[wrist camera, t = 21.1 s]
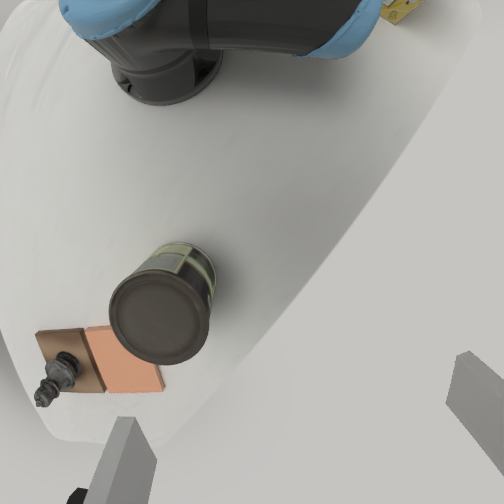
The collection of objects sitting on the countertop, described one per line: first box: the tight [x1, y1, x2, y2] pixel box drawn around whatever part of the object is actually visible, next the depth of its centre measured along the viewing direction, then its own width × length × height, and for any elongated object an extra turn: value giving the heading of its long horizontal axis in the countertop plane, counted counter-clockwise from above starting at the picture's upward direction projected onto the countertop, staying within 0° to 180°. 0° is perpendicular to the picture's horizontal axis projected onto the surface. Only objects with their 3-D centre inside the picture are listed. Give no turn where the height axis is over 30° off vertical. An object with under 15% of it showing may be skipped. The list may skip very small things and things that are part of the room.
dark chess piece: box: [34, 351, 82, 407], centre depth 38 cm, size 6×6×12 cm
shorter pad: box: [35, 328, 107, 393], centre depth 45 cm, size 12×10×2 cm
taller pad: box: [85, 326, 165, 393], centre depth 45 cm, size 12×10×2 cm
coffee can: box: [109, 242, 216, 365], centre depth 36 cm, size 10×10×14 cm
